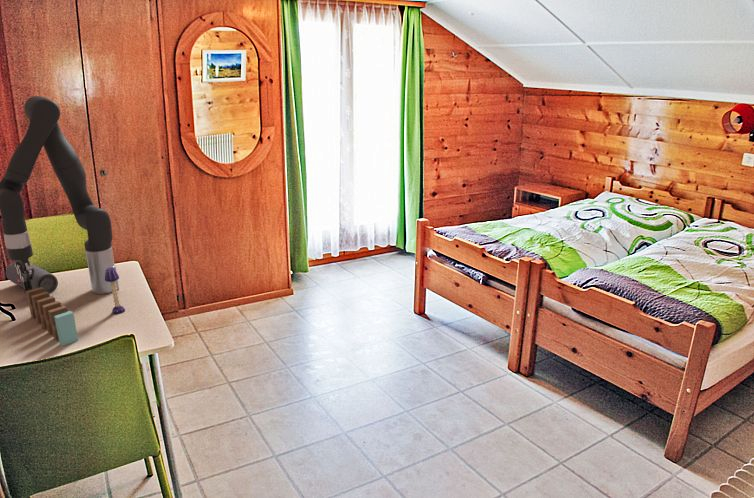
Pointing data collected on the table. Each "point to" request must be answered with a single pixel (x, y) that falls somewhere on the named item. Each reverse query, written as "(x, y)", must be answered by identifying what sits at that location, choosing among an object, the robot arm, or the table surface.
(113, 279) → the toy lamp
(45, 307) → the domino
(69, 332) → the domino
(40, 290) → the domino
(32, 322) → the table surface
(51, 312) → the domino
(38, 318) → the domino
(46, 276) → the bluetooth speaker
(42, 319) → the domino
